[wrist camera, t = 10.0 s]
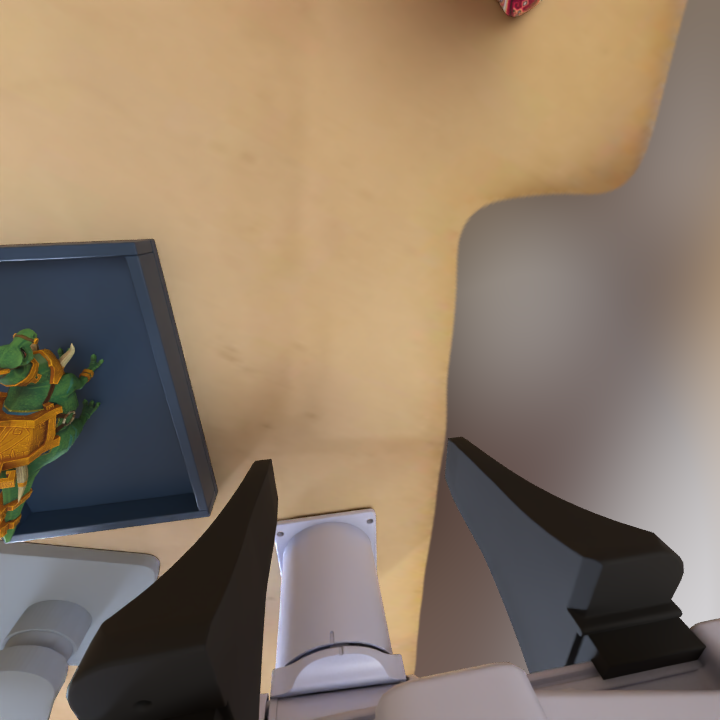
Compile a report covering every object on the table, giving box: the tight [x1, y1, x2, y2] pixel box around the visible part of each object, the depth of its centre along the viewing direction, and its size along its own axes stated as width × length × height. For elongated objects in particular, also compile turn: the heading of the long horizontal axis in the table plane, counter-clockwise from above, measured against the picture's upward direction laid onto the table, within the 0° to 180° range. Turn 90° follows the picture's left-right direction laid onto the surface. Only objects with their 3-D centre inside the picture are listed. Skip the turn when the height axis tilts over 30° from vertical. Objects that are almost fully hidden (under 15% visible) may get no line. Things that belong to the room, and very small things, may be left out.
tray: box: [0, 239, 218, 543], centre depth 19 cm, size 17×12×2 cm
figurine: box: [0, 329, 104, 543], centre depth 16 cm, size 3×12×8 cm, turn 157°
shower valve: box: [0, 540, 160, 720], centre depth 25 cm, size 12×6×15 cm
